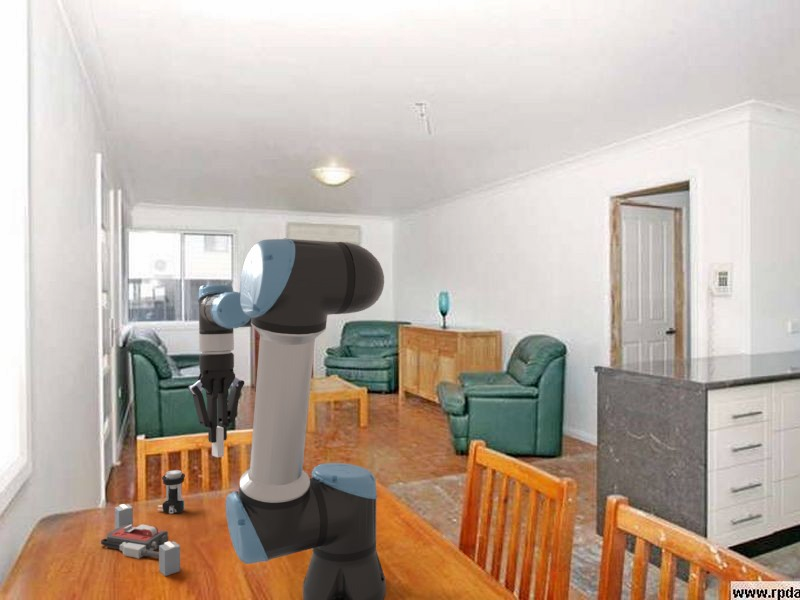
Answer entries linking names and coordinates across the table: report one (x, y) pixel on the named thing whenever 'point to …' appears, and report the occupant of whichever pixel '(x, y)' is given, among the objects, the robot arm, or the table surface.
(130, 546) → the walkie-talkie
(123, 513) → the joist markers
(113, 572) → the table surface
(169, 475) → the push button
